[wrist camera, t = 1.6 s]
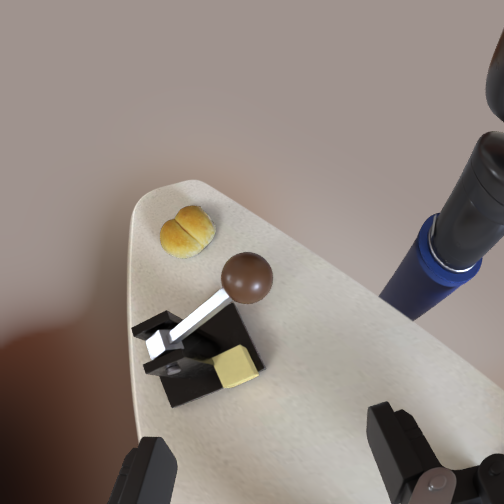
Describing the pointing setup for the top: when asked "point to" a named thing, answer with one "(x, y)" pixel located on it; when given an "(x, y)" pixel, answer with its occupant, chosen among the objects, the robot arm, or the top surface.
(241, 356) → the butter
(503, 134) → the robot arm
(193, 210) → the bread roll
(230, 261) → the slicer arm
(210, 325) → the slicer
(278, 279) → the top surface
